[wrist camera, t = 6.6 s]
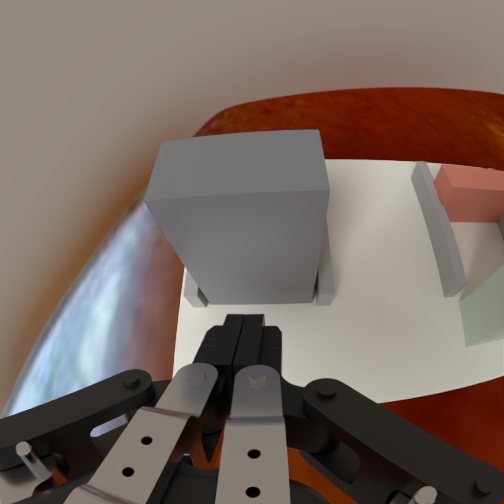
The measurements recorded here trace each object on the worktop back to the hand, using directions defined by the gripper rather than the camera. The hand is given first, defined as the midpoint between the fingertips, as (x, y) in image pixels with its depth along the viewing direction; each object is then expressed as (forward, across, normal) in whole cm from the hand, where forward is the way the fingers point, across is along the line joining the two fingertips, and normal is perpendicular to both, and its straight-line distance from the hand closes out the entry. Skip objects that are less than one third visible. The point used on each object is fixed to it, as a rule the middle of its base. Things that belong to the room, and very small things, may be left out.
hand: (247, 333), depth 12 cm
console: (+9, -8, 0) cm, 12 cm away
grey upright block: (+7, 0, 0) cm, 7 cm away
